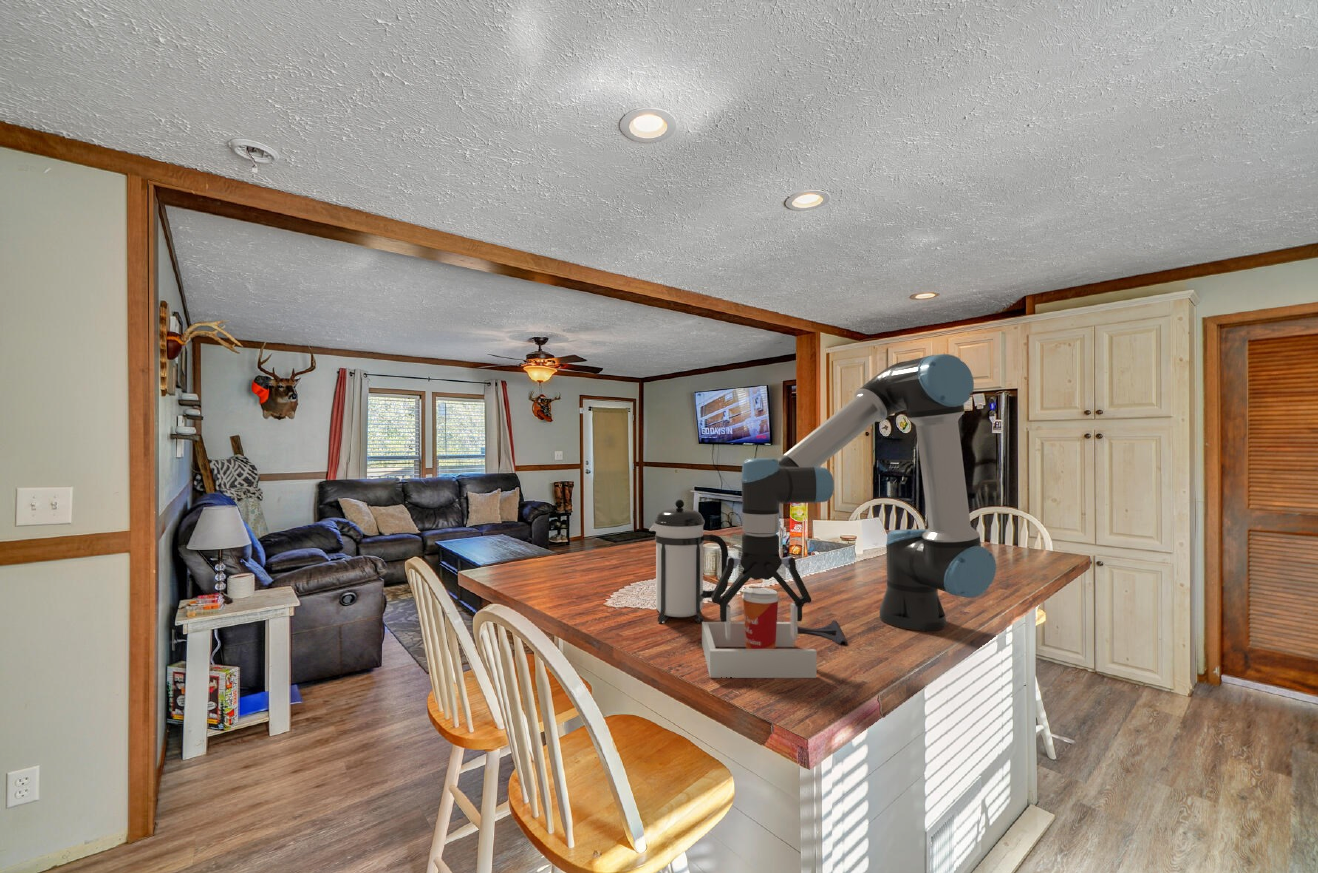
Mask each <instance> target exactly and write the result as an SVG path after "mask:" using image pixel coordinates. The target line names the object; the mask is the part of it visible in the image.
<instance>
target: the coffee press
mask: <svg viewBox="0 0 1318 873" xmlns="http://www.w3.org/2000/svg"><path fill="white" fill-rule="evenodd" d="M674 504H675V507H676V508H669V509H668V508H667V509H665V510H662V511H660V512H659V513H658V514H657V515H656V518H655V519H654V523H652V525H651V527H650V528H649V530H648V531H649V532H655V535H654V536H655V537H654V540H655V545H656V546H655V548H656V549H655V558H656V559H655V606H656V607H655V608H656V611H657V612H658V613H659V615H658V616H657V623H660V624H665V623H666V622H667V619H668V618H670V617H672V618H687V617H691V618H693V619H694V621H695V622H696V624H702V622H705V620H704V616H703V614H702V610H703V605H704V604H703V603H704V599H711V596H712V594H713V592H714V589H712V590H705V589H704V587H703V586H704V581H703V580H704V542H713V543H716V544H717V545H718V546H719V548H720V551H721V552H720V556H721V557H720V560H721V561H720V562H721V563H720V564H721V565H720V571H721V572H720V573H721V575H722V573H723V571H724V569H725V567H726V561H727V557H728V556H729V548H728V545H727V543H726V542H725V540H724V539H723V538H722V537H721V536H719V535H717V534H714V533H713V534H712V533H711V534H704V525H705V523H706V522H705V519H704V517H703V516H702V514H701V513H700V512H699V511H698V510H695V509H689V508H683V507H684V505H685V501H683V500H682V499H677V500H676V501H675V503H674ZM721 575H720V576H721ZM728 585H729V581H728V582H727V584H726V586H725V588H724V590H723V592H722V594H721V596H723V595H724V593H725V592H726V591H727V588H728Z"/></svg>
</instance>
